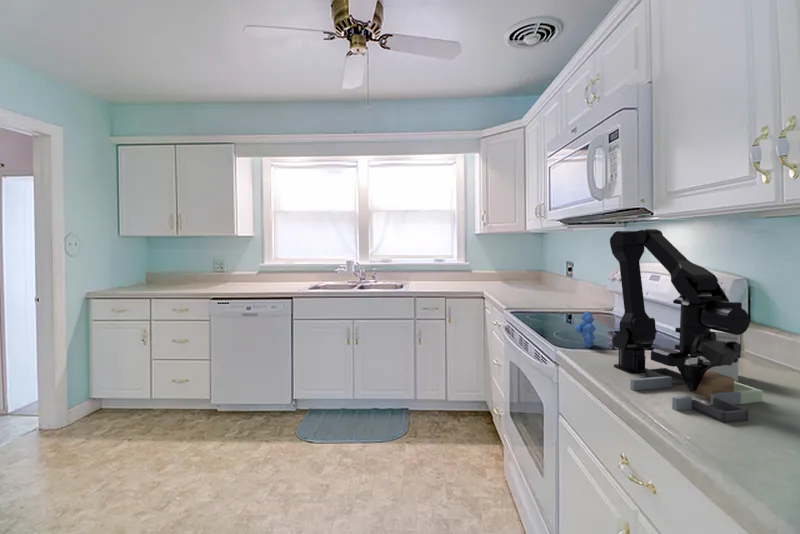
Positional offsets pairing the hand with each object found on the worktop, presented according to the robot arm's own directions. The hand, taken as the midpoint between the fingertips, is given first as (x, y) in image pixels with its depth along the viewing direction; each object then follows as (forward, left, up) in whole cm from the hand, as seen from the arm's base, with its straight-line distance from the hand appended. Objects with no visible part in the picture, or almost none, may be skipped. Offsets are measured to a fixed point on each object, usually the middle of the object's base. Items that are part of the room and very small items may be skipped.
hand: (692, 391), depth 95 cm
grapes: (-46, +5, -1) cm, 46 cm away
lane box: (0, +1, -1) cm, 1 cm away
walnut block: (0, +5, -1) cm, 5 cm away
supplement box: (-10, +20, -1) cm, 22 cm away
